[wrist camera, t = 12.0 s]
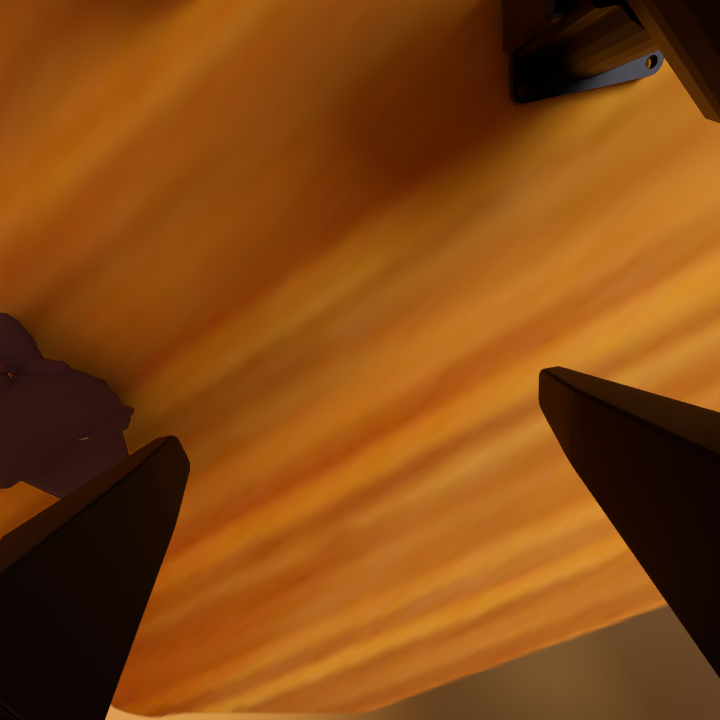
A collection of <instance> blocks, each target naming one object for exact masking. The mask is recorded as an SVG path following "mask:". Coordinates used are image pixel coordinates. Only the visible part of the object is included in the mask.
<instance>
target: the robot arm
mask: <svg viewBox="0 0 720 720" xmlns="http://www.w3.org/2000/svg"><path fill="white" fill-rule="evenodd" d="M502 13H503V50H504V51H505V52H506V54H507V55H509V81H510V99H511V101H512V102H513V103H514V104H515V105H524V104H529V103H533V102H538V101H542V100H547V99H551V98H556V97H560V96H565V95H569V94H574V93H578V92H583V91H587V90H592V89H596V88H601V87H605V86H610V85H614V84H619V83H623V82H628V81H633V80H637V79H642V78H645V77H648V76H651V75H653V74H655V73H656V72H657V71H658V70H659V69H660V67H661V66H662V63H663V59H664V58H665V59H666V61H667V62H668V64H669V65H670V67H671V68H672V69H673V71H674V72H675V74H676V75H677V77H678V78H679V80H680V81H681V83H682V84H683V86H684V87H685V89H686V90H687V92H688V93H689V95H690V96H691V98H692V99H693V101H694V102H695V104H696V105H697V107H698V108H699V110H700V111H701V113H702V114H703V115H704V117H705V118H706V119H709V120H712V121H715V122H718V123H720V0H502ZM648 58H650V59H651V65H650V67H649V69H648V68H647V67H646V60H647V59H648ZM520 86H524V87H525V88H526V95H525V96H524V97H521V96H520V95H519V88H520ZM539 404H540V408H541V410H542V412H543V414H544V416H545V417H546V419H547V421H548V423H549V425H550V427H551V429H552V431H553V432H554V434H555V436H556V438H557V440H558V442H559V444H560V446H561V447H562V449H563V451H564V453H565V455H566V456H567V458H568V460H569V462H570V463H571V465H572V466H573V468H574V469H575V471H576V472H577V474H578V475H579V477H580V478H581V479H582V481H583V482H584V484H585V485H586V487H587V488H588V489H589V491H590V492H591V494H592V495H593V497H594V498H595V500H596V501H597V502H598V504H599V505H600V507H601V508H602V510H603V511H604V513H605V514H606V515H607V517H608V518H609V520H610V521H611V523H612V524H613V525H614V527H615V528H616V530H617V531H618V533H619V534H620V536H621V537H622V538H623V540H624V541H625V543H626V544H627V546H628V547H629V549H630V550H631V551H632V553H633V554H634V556H635V557H636V559H637V560H638V561H639V563H640V564H641V566H642V567H643V569H644V570H645V572H646V573H647V574H648V576H649V577H650V579H651V580H652V582H653V583H654V585H655V586H656V587H657V589H658V590H659V592H660V593H661V595H662V596H663V597H664V599H665V600H666V602H667V603H668V605H669V606H670V608H671V609H672V610H673V612H674V613H675V615H676V616H677V617H678V619H679V621H680V622H681V623H682V625H683V626H684V628H685V629H686V631H687V632H688V633H689V635H690V636H691V638H692V639H693V641H694V642H695V644H696V645H697V646H698V648H699V649H700V651H701V652H702V654H703V655H704V657H705V658H706V659H707V661H708V662H709V664H710V665H711V666H712V668H713V669H714V671H715V672H716V674H717V675H718V677H719V678H720V412H716V411H713V410H709V409H706V408H702V407H699V406H696V405H692V404H689V403H685V402H682V401H678V400H675V399H671V398H668V397H664V396H661V395H657V394H654V393H650V392H647V391H643V390H640V389H636V388H633V387H629V386H626V385H623V384H619V383H616V382H612V381H609V380H605V379H602V378H598V377H595V376H591V375H588V374H584V373H581V372H577V371H574V370H570V369H567V368H563V367H560V366H557V367H551V368H545V369H542V370H541V371H540V374H539ZM189 471H190V462H189V459H188V457H187V455H186V453H185V451H184V449H183V447H182V445H181V443H180V441H179V439H178V438H177V437H176V436H173V435H171V436H165V437H159V438H157V439H155V440H153V441H152V442H150V443H149V444H147V445H146V446H144V447H142V448H141V449H139V450H138V451H136V452H135V453H133V454H131V455H130V456H128V457H127V458H125V459H124V460H122V461H120V462H119V463H117V464H116V465H114V466H113V467H111V468H109V469H108V470H106V471H105V472H103V473H102V474H100V475H99V476H97V477H95V478H94V479H92V480H91V481H89V482H88V483H86V484H84V485H83V486H81V487H80V488H78V489H77V490H75V491H73V492H72V493H70V494H69V495H67V496H66V497H64V498H62V499H61V500H59V501H58V502H56V503H55V504H53V505H51V506H50V507H48V508H47V509H45V510H44V511H42V512H41V513H39V514H37V515H36V516H34V517H33V518H31V519H30V520H28V521H26V522H25V523H23V524H22V525H20V526H19V527H17V528H15V529H14V530H12V531H11V532H9V533H8V534H6V535H4V536H3V537H2V539H1V540H0V720H105V718H106V715H107V713H108V710H109V707H110V704H111V702H112V699H113V696H114V694H115V691H116V688H117V685H118V683H119V680H120V677H121V674H122V672H123V669H124V666H125V663H126V661H127V658H128V655H129V652H130V650H131V647H132V644H133V641H134V639H135V636H136V633H137V631H138V628H139V625H140V622H141V620H142V617H143V614H144V611H145V609H146V606H147V603H148V600H149V598H150V595H151V592H152V589H153V587H154V584H155V581H156V578H157V576H158V573H159V570H160V567H161V565H162V562H163V559H164V557H165V554H166V551H167V548H168V546H169V543H170V540H171V537H172V535H173V532H174V529H175V526H176V522H177V519H178V515H179V511H180V507H181V503H182V499H183V495H184V491H185V487H186V483H187V479H188V475H189Z"/></svg>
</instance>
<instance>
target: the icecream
mask: <svg viewBox="0 0 720 720" xmlns="http://www.w3.org/2000/svg"><path fill="white" fill-rule="evenodd" d="M8 372H9V373H11V374H12V375H13V376H12V377H9V375H8ZM133 412H134V408H132V407H130V406H121V403H120V401H119V399H118V397H117V396H116V395H115V394H114V393H113V392H112V391H111V390H110V389H109V387H108V385H107V383H106V381H104V380H102V379H100V378H95V377H93V376H91V375H89V374H87V373H85V372H82V371H78V370H73V369H70V366H69V365H68V364H66V363H64V362H63V361H56V360H49V359H43V357H42V355H41V353H40V351H39V349H38V348H37V346H36V344H35V342H34V340H33V338H32V336H31V335H30V334H29V333H28V332H27V331H26V330H25V329H24V328H23V326H22V325H21V324H20V323H19V322H18V321H17V320H16V319H14V318H13V317H11V316H10V315H8V314H5V313H0V489H6V488H10V487H12V486H13V485H15V484H16V483H18V482H19V481H20V480H21V481H23V482H25V483H27V484H30V485H32V486H34V487H36V488H38V489H41V490H43V491H45V492H47V493H49V494H52V495H54V496H56V497H58V498H60V499H62V498H64V497H66V496H67V495H69V494H70V493H72V492H73V491H75V490H77V489H78V488H80V487H81V486H83V485H84V484H86V483H88V482H89V481H91V480H92V479H94V478H95V477H97V476H99V475H100V474H102V473H103V472H105V471H106V470H108V469H109V468H111V467H113V466H114V465H116V464H117V463H119V462H120V461H122V460H124V459H125V458H127V457H128V456H129V455H128V451H127V447H126V443H125V440H124V436H123V432H122V431H123V430H125V429H127V428H128V426H129V423H130V420H131V418H130V416H131V415H132V414H133Z"/></svg>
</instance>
